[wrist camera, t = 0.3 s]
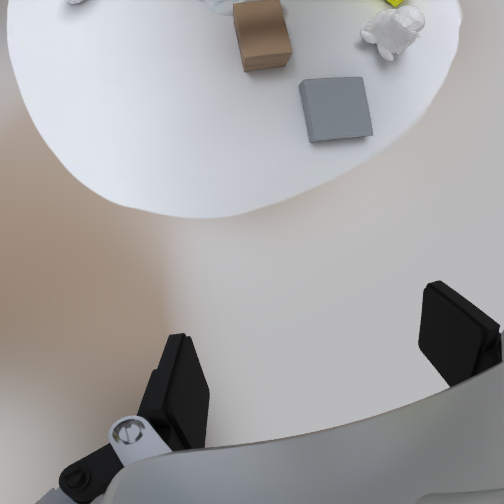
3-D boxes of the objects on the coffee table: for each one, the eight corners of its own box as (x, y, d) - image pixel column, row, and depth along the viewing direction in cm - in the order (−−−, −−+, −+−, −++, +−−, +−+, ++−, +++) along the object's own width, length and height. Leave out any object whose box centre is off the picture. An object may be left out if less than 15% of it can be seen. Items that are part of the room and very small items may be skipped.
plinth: (298, 85, 35) (303, 79, 32) (354, 81, 35) (362, 77, 32) (309, 142, 37) (315, 140, 35) (364, 136, 37) (373, 135, 34)
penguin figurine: (408, 39, 33) (451, 15, 21) (382, 69, 34) (425, 46, 23) (378, 11, 31) (415, -21, 20) (349, 39, 33) (384, 6, 21)
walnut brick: (234, 23, 32) (233, 3, 26) (273, 18, 32) (278, -1, 26) (244, 71, 34) (244, 57, 29) (285, 66, 34) (292, 52, 29)
